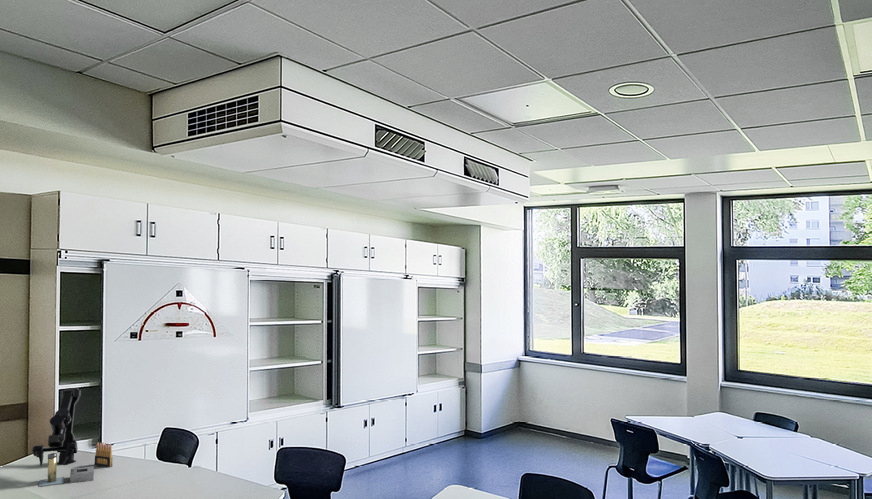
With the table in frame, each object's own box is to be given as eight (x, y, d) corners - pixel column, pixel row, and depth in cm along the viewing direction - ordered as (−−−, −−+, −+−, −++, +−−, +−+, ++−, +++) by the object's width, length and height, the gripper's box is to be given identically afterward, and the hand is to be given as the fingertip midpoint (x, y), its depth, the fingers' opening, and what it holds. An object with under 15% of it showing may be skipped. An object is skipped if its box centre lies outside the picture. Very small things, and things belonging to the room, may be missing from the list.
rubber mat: (40, 480, 307) (40, 479, 307) (64, 477, 312) (64, 476, 312) (38, 486, 298) (39, 486, 298) (63, 483, 303) (63, 482, 303)
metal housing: (70, 477, 313) (70, 468, 313) (93, 474, 318) (93, 466, 318) (69, 483, 304) (70, 474, 304) (93, 480, 309) (93, 471, 309)
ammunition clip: (112, 466, 331) (113, 443, 331) (109, 467, 329) (110, 444, 330) (97, 464, 335) (98, 441, 335) (94, 465, 333) (95, 442, 333)
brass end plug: (54, 479, 308) (55, 452, 308) (57, 481, 305) (58, 454, 306) (46, 481, 305) (46, 454, 305) (49, 483, 302) (49, 455, 303)
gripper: (33, 429, 306) (26, 458, 296) (77, 426, 313) (71, 455, 302) (37, 441, 314) (30, 470, 303) (79, 438, 320) (74, 466, 309)
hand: (51, 465), depth 304 cm, fingers open, 9 cm apart
